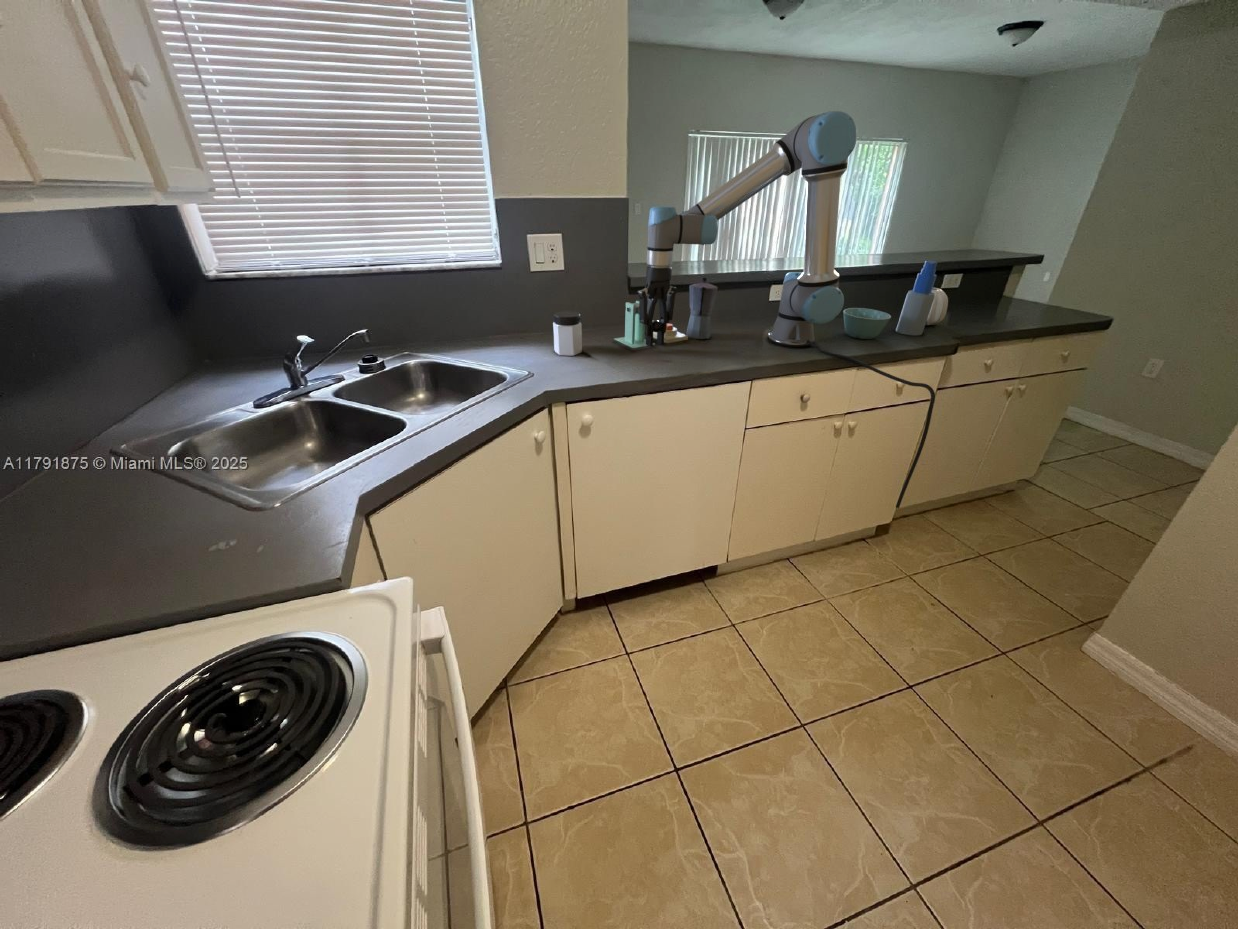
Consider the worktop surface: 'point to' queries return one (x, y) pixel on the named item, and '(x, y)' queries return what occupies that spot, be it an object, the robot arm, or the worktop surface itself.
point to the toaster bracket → (633, 328)
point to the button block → (672, 336)
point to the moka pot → (701, 309)
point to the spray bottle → (918, 302)
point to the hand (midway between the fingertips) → (654, 344)
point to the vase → (937, 307)
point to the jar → (567, 333)
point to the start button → (669, 326)
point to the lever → (655, 323)
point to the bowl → (864, 322)
